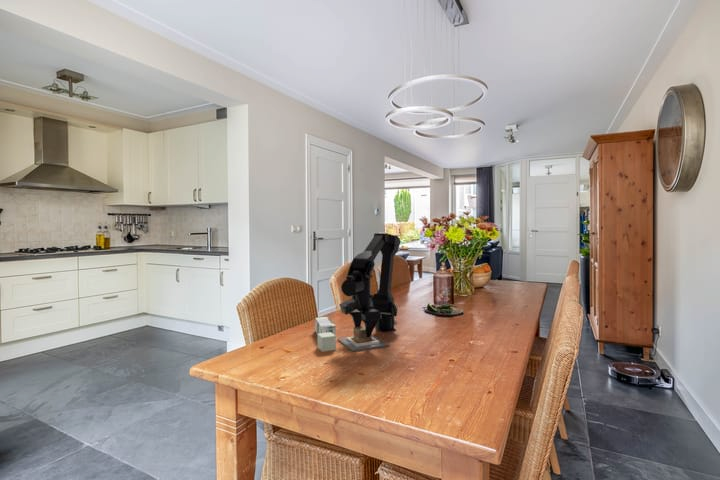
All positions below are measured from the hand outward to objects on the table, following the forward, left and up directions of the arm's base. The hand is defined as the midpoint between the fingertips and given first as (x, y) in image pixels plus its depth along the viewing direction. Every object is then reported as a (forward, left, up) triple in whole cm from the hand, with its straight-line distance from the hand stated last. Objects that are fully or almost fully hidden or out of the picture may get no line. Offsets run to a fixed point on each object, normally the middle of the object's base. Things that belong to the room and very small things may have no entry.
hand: (362, 333), depth 138 cm
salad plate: (-56, -27, -4) cm, 62 cm away
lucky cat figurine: (-24, -31, -4) cm, 40 cm away
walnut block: (0, 0, -3) cm, 3 cm away
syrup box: (+8, -22, -1) cm, 23 cm away
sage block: (+14, 0, -4) cm, 14 cm away
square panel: (0, 0, -3) cm, 3 cm away
